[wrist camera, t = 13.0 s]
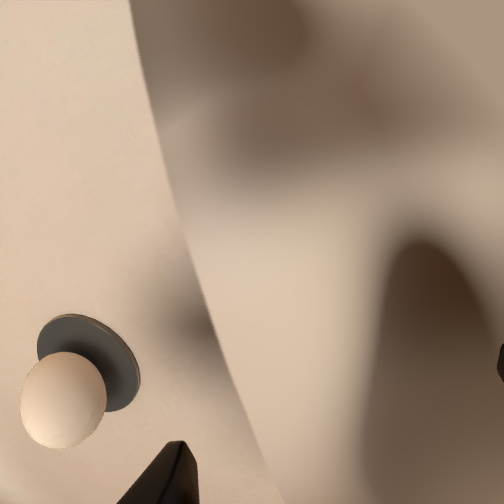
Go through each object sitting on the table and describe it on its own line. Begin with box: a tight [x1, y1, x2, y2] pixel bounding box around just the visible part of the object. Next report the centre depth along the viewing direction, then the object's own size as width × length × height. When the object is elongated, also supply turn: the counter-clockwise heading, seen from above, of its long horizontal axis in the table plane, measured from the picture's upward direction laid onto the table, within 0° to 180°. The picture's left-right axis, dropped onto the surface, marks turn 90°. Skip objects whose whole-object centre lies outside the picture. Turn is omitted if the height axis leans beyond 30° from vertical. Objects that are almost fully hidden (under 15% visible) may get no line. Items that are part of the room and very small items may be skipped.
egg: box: [20, 352, 107, 449], centre depth 15 cm, size 5×5×7 cm
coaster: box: [37, 314, 139, 412], centre depth 19 cm, size 8×8×1 cm
